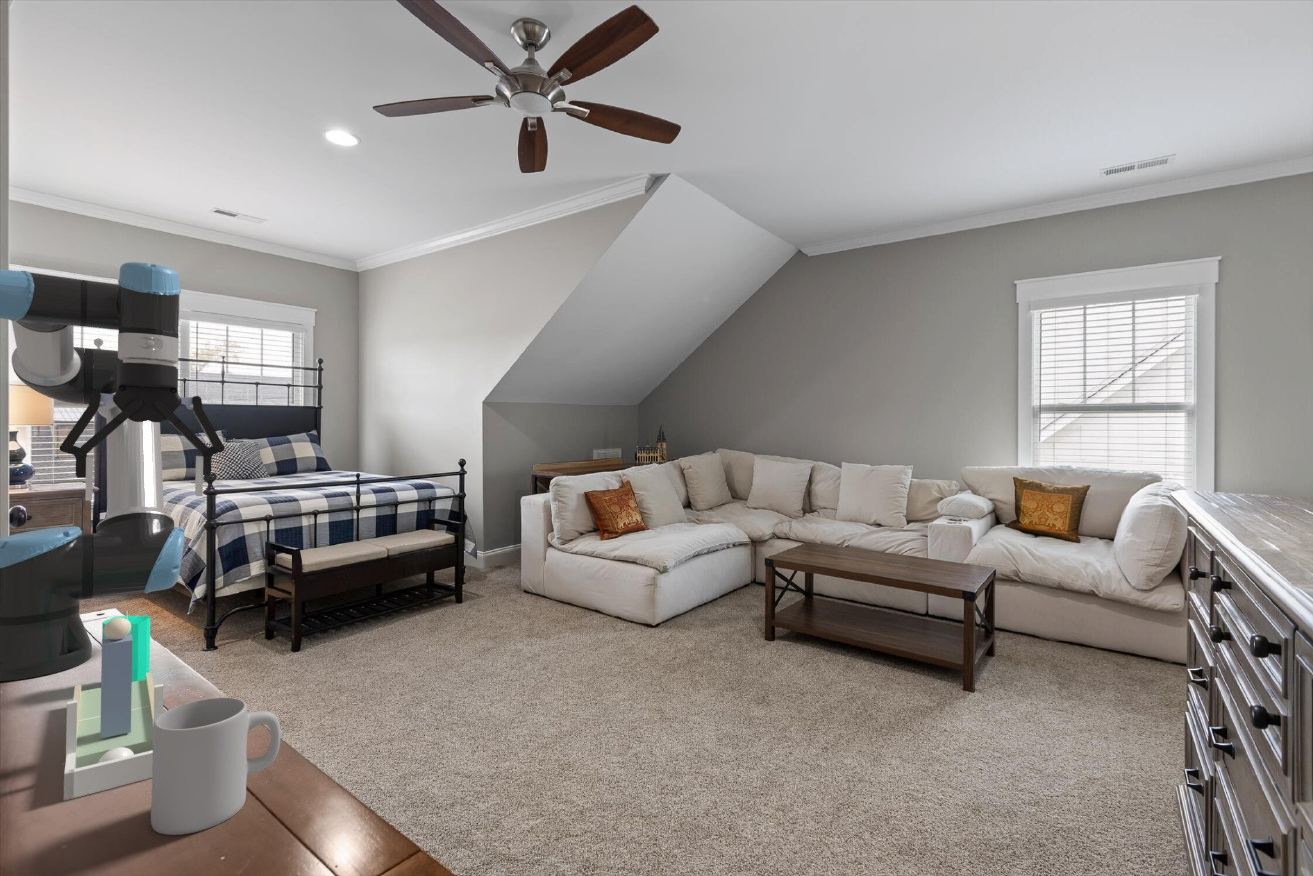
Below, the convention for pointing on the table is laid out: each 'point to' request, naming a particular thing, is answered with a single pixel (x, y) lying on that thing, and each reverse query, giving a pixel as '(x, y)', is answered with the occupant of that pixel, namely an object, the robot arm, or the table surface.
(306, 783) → the table surface
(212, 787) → the mug
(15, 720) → the table surface
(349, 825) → the table surface
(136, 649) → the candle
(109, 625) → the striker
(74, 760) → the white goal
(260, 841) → the table surface
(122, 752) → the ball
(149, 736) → the pitch
